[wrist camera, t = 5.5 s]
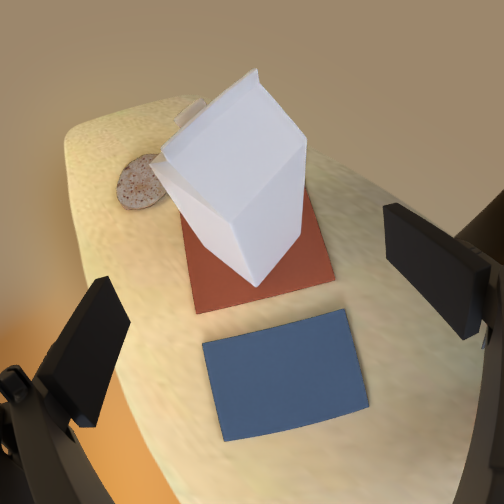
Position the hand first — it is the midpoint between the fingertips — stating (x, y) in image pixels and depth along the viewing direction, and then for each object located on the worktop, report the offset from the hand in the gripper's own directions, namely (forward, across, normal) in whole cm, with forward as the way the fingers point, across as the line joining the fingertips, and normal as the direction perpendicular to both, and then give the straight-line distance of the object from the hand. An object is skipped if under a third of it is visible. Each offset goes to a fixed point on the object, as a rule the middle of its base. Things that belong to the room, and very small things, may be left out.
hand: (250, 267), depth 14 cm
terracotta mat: (+18, 0, -6) cm, 19 cm away
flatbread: (+26, -11, +1) cm, 28 cm away
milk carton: (+18, 0, -6) cm, 19 cm away
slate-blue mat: (+8, 0, -16) cm, 18 cm away
